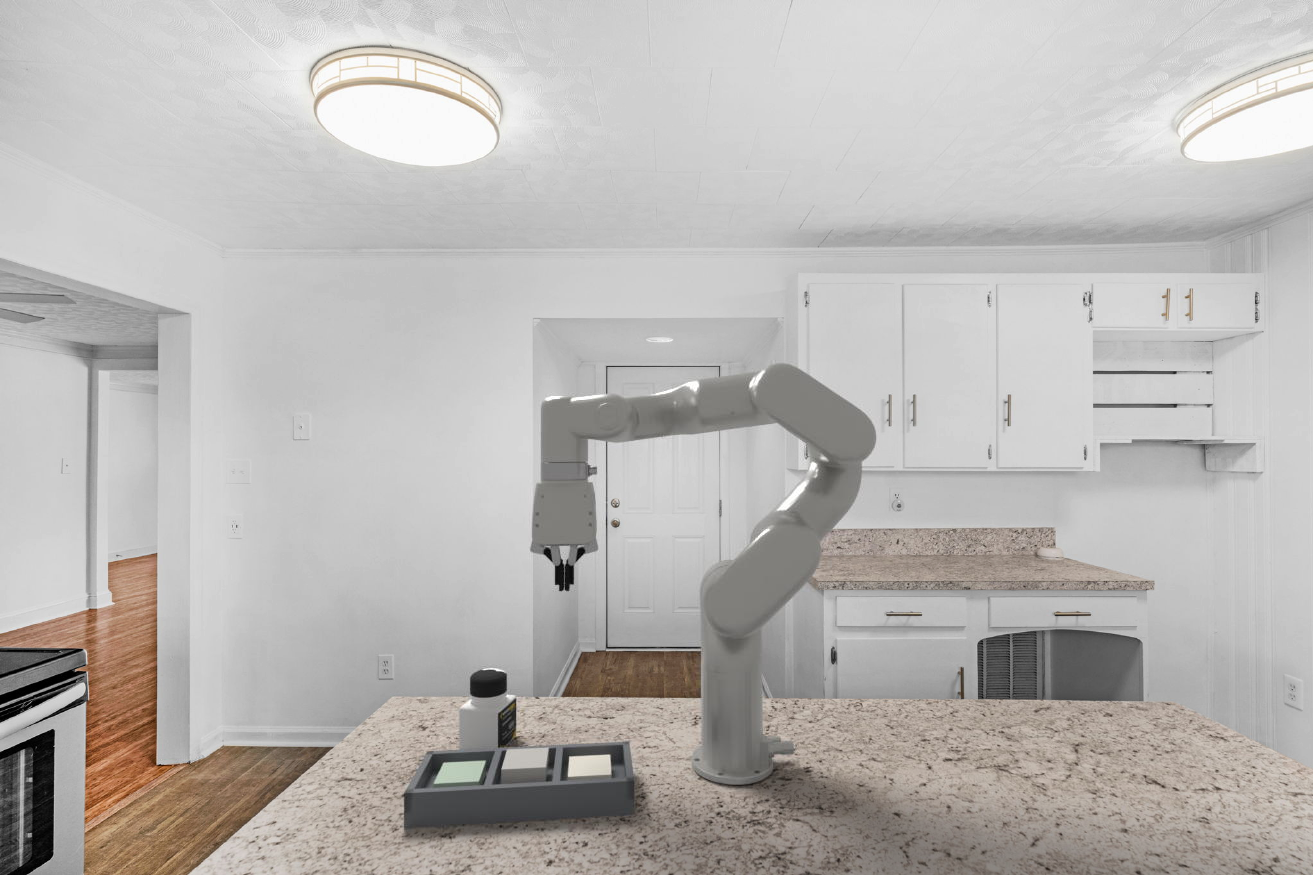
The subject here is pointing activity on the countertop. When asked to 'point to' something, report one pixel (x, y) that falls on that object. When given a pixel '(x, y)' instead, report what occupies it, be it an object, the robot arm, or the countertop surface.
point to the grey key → (525, 765)
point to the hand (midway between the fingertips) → (564, 589)
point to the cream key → (589, 767)
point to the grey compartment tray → (520, 789)
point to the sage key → (461, 774)
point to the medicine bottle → (487, 712)
